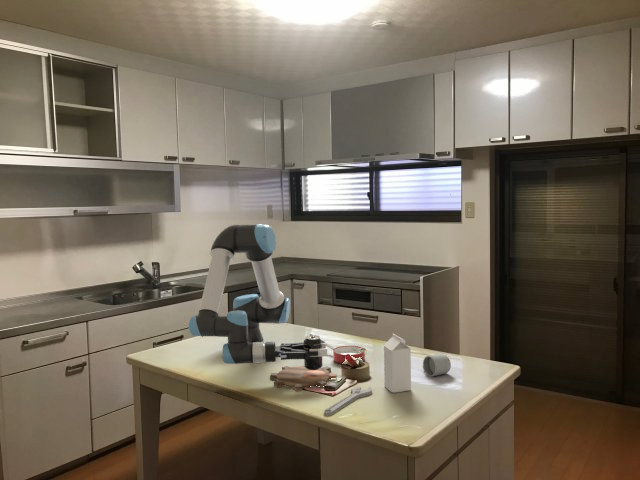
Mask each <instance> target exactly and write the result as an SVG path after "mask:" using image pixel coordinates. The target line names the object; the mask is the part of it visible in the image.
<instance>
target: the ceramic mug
mask: <svg viewBox="0 0 640 480" xmlns="http://www.w3.org/2000/svg"><path fill="white" fill-rule="evenodd" d="M451 365H452V364H451V361H450V358H449V357H448V356H447V355H445V354H441V353H440V354H434V355H426V356H425V357H424V359H423V360H422V369H423V371H424V373H425V374H426V375H427V376H428V377H430V378H431V377H435V376H441V375H444V374H447V373H449V372H450V370H451V367H452V366H451Z"/></svg>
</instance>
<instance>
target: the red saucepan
mask: <svg viewBox="0 0 640 480" xmlns="http://www.w3.org/2000/svg"><path fill="white" fill-rule="evenodd" d="M309 335H313V334H312V333H310V334H309ZM321 340H322V343H326V348H328V349H330V350H332V351H333V353H332V354H333V358H332V359H333V362H335V363H336V364H339V365H343V364H342V363H343V362H344V361H345V356H346V354H350V355H351V356H353V357H355V358H359V357H362V356H363V357H362V358H361V359H362V360H364V361H365V358H366V357H365V356H366V353H365V352H366V351H365V350H366V349H365V348H364V347H362V346H357V345H341V346H336V347H334V346H332V345H330V344H328V343H327V342H326V341H325V340H323V339H321ZM361 349H363V350H362V351H361V353H360V354H358V353H359V351H360V350H361Z"/></svg>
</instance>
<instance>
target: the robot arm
mask: <svg viewBox="0 0 640 480" xmlns="http://www.w3.org/2000/svg"><path fill="white" fill-rule="evenodd" d="M276 238H277V237H276V235H275V231H274V229H273V228H272V227H271V225H268V224H261V223H257V224H231V225H228V226H227V227H226V228H224V229H223V230H221V232H220V233H219V234H218V235H217V236H216V238H215V240H213V243H212V245H211V248H210V252H209V254H210V257H211V259H210V263H209V268H208V272H207V275H206V281H205V284H204V289H203V292H202V298H201V300H200V301H201V302H200V305H199V309H198V313H197V315H193V316H191V317H190V319H189V321H188V331H189V333H190V334H191V335H192V336H194V337H201V338H203V337H217V338H218V337H219V338H220V337H221V338H227V342H226V343H224V344H223V345H222V360H223V363H224V364H227V365H229V364H230V365H234V364H235V365H240V364H257V365H258V364H260V363H265V362H266V363H275V362H276V360H277V358H280V361H285V360H304V359H307V360H309V359H310V357H320V356H322V357H328V347H327V346H326V343H327V342H325V343H322V349H309V350H304V341H303V342H288V343H285V342H282V343H280V345H278V346H276V342H275V341H266V342H265V341H264V337H263V333H262V332H261V328H260V324H276V325H278V324H286V323H288V320H289V316H290V311H291V300H290V298H289V297H285V295H284V293H283V292H282V291H280V288H279V282H278V279H277V276H276V272H275V268H274V267H275V266H274V264H273V259H272V255H273V253H274V252H275V250H276V246H277V241H276V240H277V239H276ZM236 254H245V257H246V259H247V260H248V261H250V262H251V266H252V269H253V273H254V275H255V279H256V282H257V287H258V291H259V293H260V294H258V293H252V294H244V295H240V296H237V297H235V298H234V299H233V301H232V302H233V303H232V305H233V306H232V309H233V310H230V311H228V312H227V313H226V316H222V315H221V316H219V313H220V309H221V304H222V299H223V295H224V291H225V287H226V281H227V277H228V273H229V269H230V268H229V267H230V264H231V261H232V260H233V259H234V257H235V255H236ZM259 295H260V296H259ZM309 356H310V357H309Z"/></svg>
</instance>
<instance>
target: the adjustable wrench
mask: <svg viewBox="0 0 640 480" xmlns="http://www.w3.org/2000/svg"><path fill="white" fill-rule="evenodd" d="M372 394H373V388H372V387H370V386H368V388H367V389H362V386H360V385H359V386H356V387H354V388H352V389H350V394H349V395H347V396H345V397H344V398H342V399H340V400H339V401H338V402H336V403H334V404H333V405H330V406H329V407H327V408H325V409H324V410H323V415H325V416H332V415H333V413H334V414H335V413H337V412H338V411H340V410H341V409H343V408H344V407H346V406H348V405H349V404H351V403H353V402H354V401H355V400H358V399H359V398H362V397H366V396H371V395H372ZM336 411H337V412H336Z"/></svg>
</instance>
